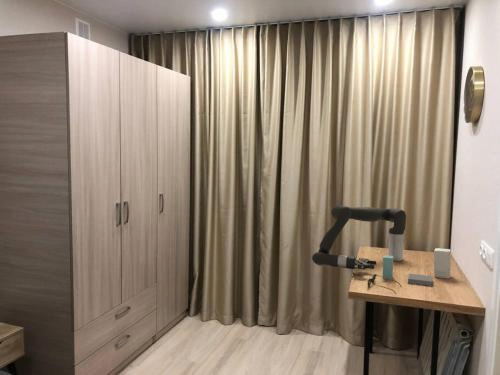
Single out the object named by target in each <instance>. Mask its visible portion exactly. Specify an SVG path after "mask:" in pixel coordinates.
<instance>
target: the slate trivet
mask: <svg viewBox="0 0 500 375" xmlns="http://www.w3.org/2000/svg"><path fill="white" fill-rule="evenodd" d="M407 284H411V285H418V286H419V285H420V286H427V287H433V275H426V274H425V275H424V274H416V273H408V278H407Z"/></svg>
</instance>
